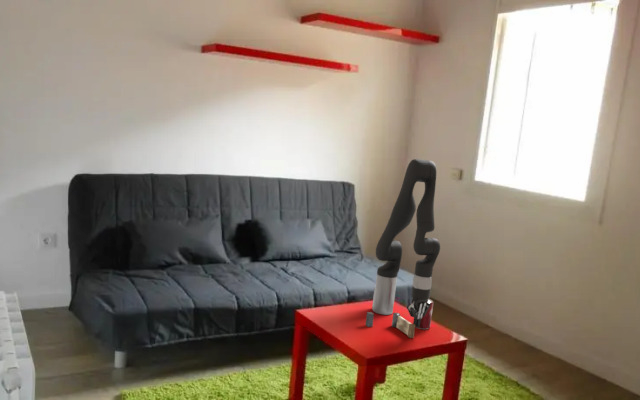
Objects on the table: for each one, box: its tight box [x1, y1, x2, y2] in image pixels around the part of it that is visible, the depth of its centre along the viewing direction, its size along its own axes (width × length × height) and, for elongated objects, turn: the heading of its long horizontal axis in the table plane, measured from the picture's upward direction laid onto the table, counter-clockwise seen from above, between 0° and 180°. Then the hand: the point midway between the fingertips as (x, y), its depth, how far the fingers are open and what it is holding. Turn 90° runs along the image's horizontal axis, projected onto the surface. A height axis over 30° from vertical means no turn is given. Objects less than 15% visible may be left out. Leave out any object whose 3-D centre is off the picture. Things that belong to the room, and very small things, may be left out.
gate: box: [396, 315, 416, 339], centre depth 234 cm, size 11×2×5 cm, turn 23°
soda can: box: [415, 298, 434, 331], centre depth 243 cm, size 7×7×12 cm
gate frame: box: [365, 311, 401, 329], centre depth 239 cm, size 3×14×6 cm, turn 101°
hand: (416, 326), depth 232 cm, fingers closed
